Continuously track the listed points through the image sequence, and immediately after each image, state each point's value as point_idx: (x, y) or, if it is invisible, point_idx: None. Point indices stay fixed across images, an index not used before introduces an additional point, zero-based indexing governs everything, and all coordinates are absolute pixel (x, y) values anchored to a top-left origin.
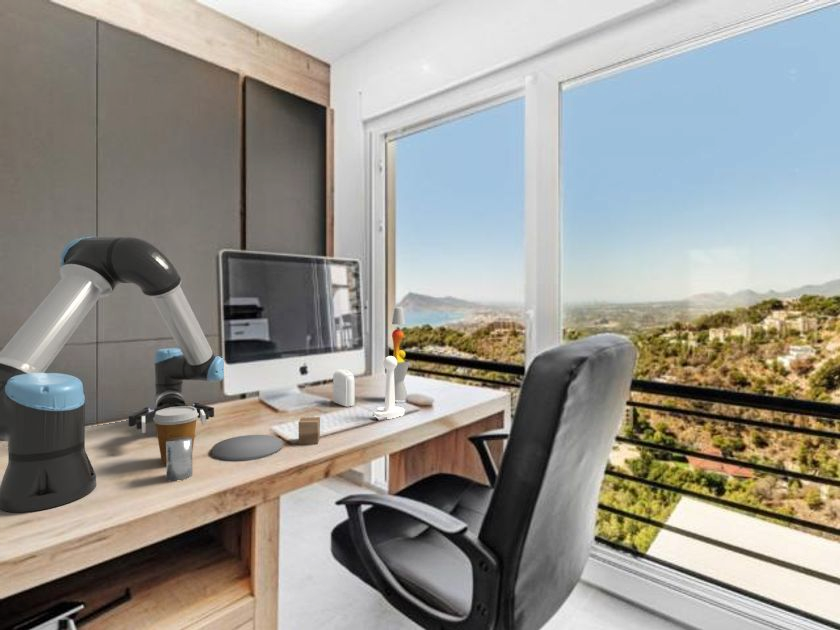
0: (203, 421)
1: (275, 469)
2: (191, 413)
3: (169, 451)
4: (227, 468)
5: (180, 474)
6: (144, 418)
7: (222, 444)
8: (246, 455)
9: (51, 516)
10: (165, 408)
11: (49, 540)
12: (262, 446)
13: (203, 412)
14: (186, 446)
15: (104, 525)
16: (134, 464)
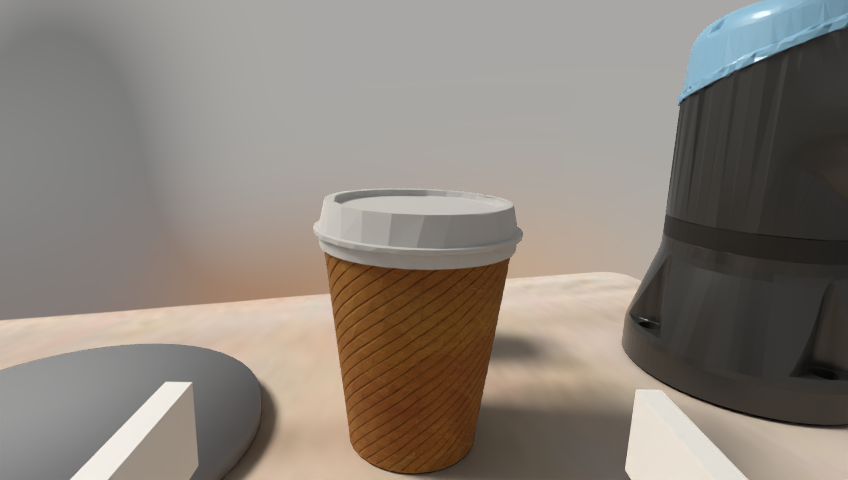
0: (188, 432)
1: (180, 310)
2: (360, 195)
3: None
4: (276, 342)
5: None
6: (717, 474)
7: None
8: (184, 349)
9: None
10: (475, 213)
11: (589, 277)
12: (55, 386)
13: (109, 448)
14: None
15: (527, 279)
16: (593, 462)
